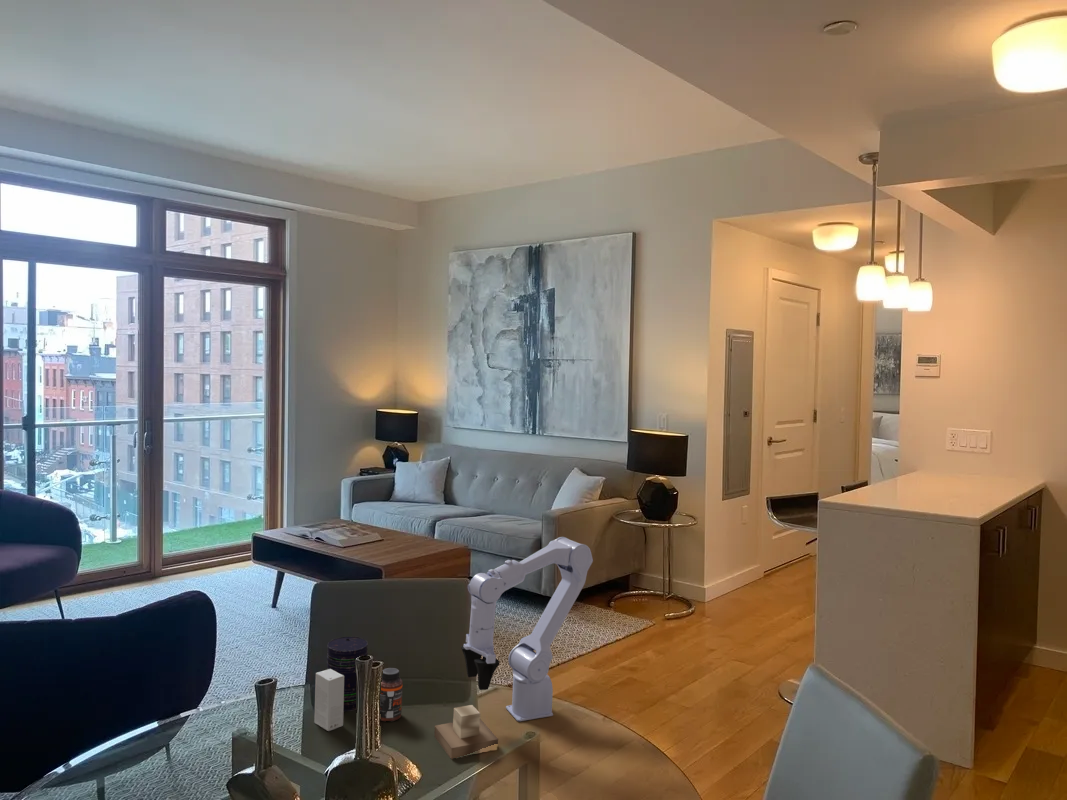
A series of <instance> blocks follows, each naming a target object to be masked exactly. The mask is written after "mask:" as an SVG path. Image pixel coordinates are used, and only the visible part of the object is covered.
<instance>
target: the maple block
mask: <svg viewBox="0 0 1067 800" xmlns="http://www.w3.org/2000/svg"><path fill="white" fill-rule="evenodd" d="M480 719H481V713H480V711H478V709H477V708H476V707H475V706H474V705H473V704H469V705H462V706H458V707H457V706H456V707H453V717H452V722H453V730H454V732H455V733H456V734H457V735H458V736H459V737H460V739H461V738H466V737H471V736H476V735H479V726H480Z"/></svg>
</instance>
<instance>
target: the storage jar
mask: <svg viewBox="0 0 1067 800" xmlns="http://www.w3.org/2000/svg"><path fill="white" fill-rule="evenodd" d="M368 646H369V645H368V641H367V640H366V639H364V638H362V637H359V636H342V637H341V636H340V637H336V638H332V639H331V640H330V641H328V643H327V651H326V653H327V654H326V668H327V670H328V669H332V670H334V671H336V672H338V673H339V674H341V675H344V708H343V713H344V712H352V711H356V710H357V709H356V673H355V659H356V658H357V657H359V656H368V655H369V653H368V652H369V651H368ZM368 657H369V656H368Z"/></svg>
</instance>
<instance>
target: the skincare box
mask: <svg viewBox="0 0 1067 800" xmlns="http://www.w3.org/2000/svg"><path fill="white" fill-rule="evenodd" d="M314 680H315V681H314V682H315V685H314V687H315V689H314V718H313V719H314V721H313V723H314V724H316V725H317V726H319V727H321V729H324V730H326V731H328V732H330V731H333V730H336V729H338V728H340V727H343V725H344V712H343V708H344V675H341V674H339V673H338V672H336V671H334V670H332V669H328V668H327V669H325V670H322V671H318V672H315V679H314Z"/></svg>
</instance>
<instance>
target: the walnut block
mask: <svg viewBox="0 0 1067 800" xmlns="http://www.w3.org/2000/svg"><path fill="white" fill-rule="evenodd" d="M433 736H434V739H435V740H436V741H437V743H439V745H440V747H442V749H443V750H444V752H445V753H446V755H447V756H448V757H449V759H450V758H451V759H450V760H454V759H453V758H456V759H458V758H457V757H460V756H464V755H467V754H470V753H473V752H475V751H478V750H480V749H482V748H486V747H488V746H491V745H494V744H498V745H499V738H498V737H497V735H495V733H494V732H493V731H492V730H491V729H490V728H489V727H488V726H487V725H486V723H484V721H483V720H482V719H481V718H480V726H479V735H476V736H471V737H466V738H461V739H460V737H459V736H458V735H457V734H456V733H455V732H454V730H453V721H452V722H447V723H442V724H437V725H436V724H435V725H434V735H433Z"/></svg>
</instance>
